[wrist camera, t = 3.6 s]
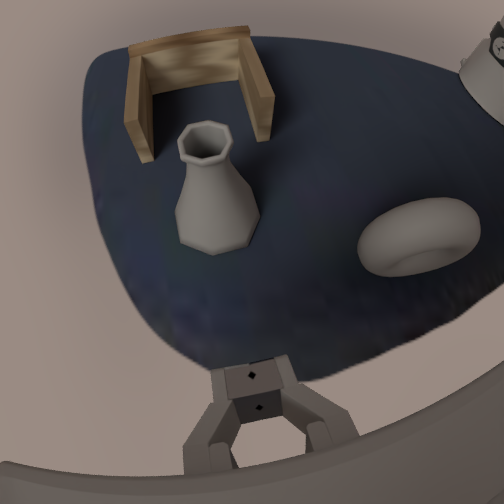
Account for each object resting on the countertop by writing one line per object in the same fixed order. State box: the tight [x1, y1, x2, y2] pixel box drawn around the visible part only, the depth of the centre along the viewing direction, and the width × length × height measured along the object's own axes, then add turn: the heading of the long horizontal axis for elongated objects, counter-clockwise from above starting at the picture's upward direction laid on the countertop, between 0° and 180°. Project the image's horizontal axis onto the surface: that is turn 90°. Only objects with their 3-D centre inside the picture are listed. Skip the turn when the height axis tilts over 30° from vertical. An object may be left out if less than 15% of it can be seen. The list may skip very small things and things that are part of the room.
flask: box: [175, 120, 260, 256], centre depth 21 cm, size 7×7×10 cm
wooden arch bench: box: [124, 26, 275, 164], centre depth 26 cm, size 12×11×7 cm
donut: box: [357, 197, 481, 277], centre depth 20 cm, size 10×4×10 cm, turn 94°
